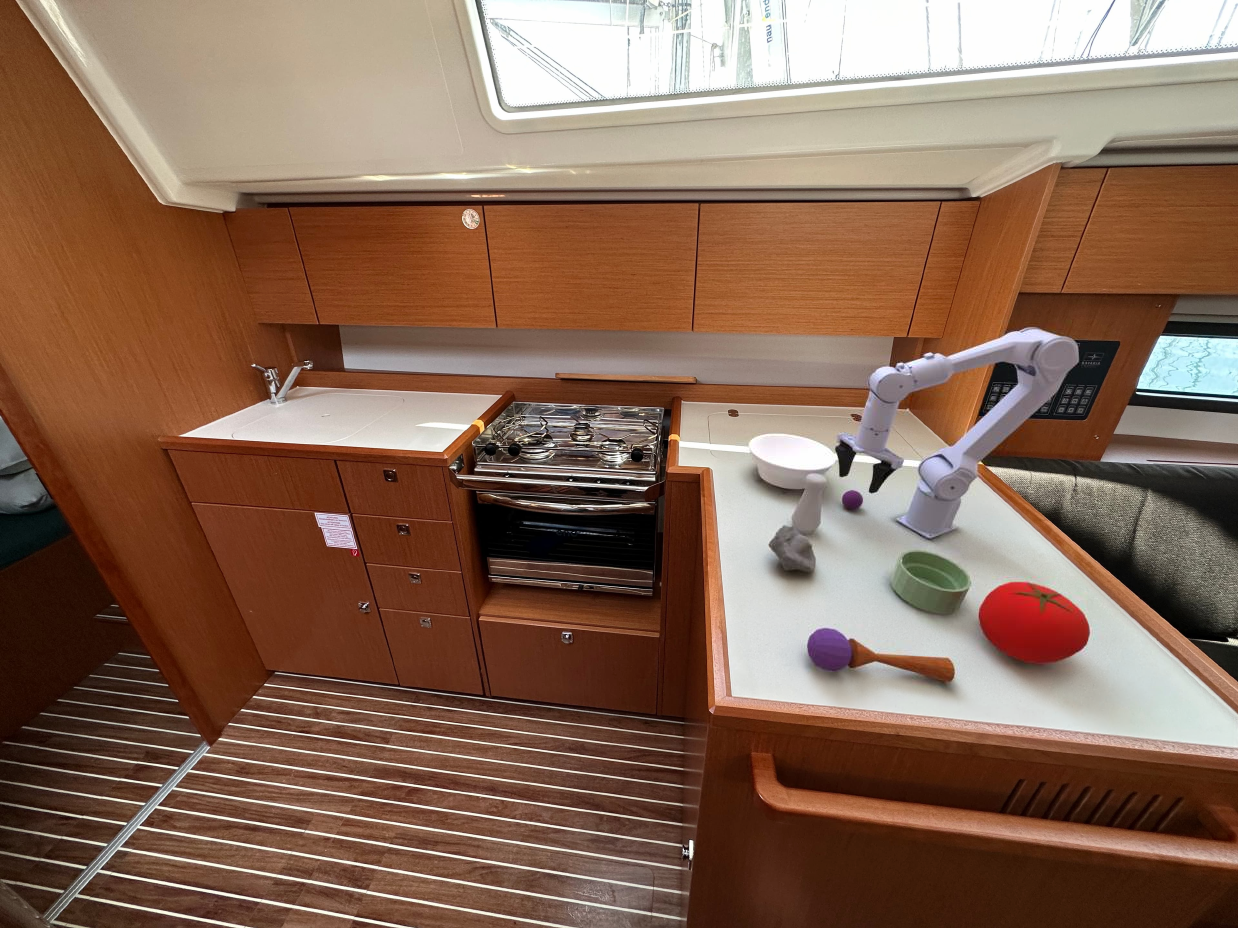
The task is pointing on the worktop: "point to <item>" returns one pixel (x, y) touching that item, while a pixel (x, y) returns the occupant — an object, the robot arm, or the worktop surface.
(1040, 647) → the tomato
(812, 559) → the grey rock
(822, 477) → the salt shaker
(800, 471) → the bowl
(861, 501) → the ball
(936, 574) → the green bowl
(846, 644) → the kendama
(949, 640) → the worktop surface
